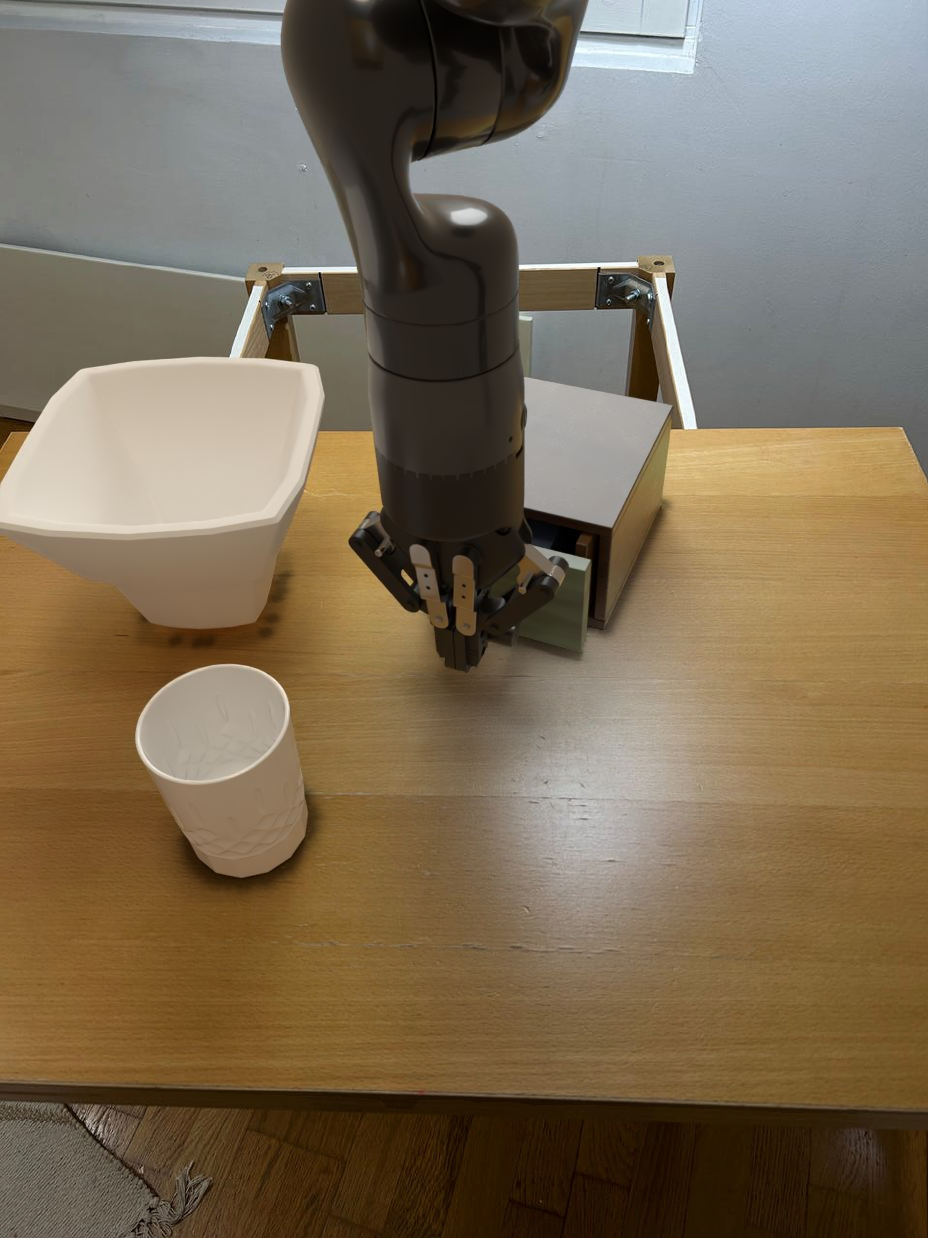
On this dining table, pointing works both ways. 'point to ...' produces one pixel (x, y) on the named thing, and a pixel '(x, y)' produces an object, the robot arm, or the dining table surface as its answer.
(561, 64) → the robot arm
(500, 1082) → the dining table surface
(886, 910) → the dining table surface
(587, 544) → the drawer
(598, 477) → the cabinet
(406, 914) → the dining table surface
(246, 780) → the white cup
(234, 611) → the bowl
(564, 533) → the block
